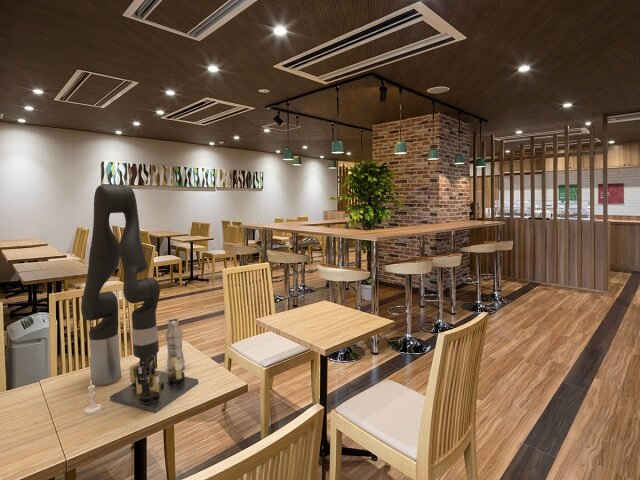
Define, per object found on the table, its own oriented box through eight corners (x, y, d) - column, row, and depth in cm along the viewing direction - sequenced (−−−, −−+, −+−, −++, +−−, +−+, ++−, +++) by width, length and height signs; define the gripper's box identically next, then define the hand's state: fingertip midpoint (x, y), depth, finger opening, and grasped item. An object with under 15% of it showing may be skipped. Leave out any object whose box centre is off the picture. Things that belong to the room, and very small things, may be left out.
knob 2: (135, 402, 119) (133, 380, 118) (141, 393, 125) (139, 372, 124) (158, 400, 120) (157, 378, 119) (163, 392, 126) (162, 371, 125)
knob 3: (165, 379, 135) (164, 359, 134) (181, 374, 138) (180, 355, 137) (171, 386, 129) (170, 366, 128) (187, 381, 132) (186, 361, 132)
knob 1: (138, 389, 128) (137, 368, 127) (126, 386, 130) (125, 366, 129) (155, 379, 134) (153, 360, 133) (143, 377, 136) (142, 357, 135)
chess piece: (83, 416, 115) (80, 385, 114) (85, 408, 119) (82, 379, 118) (101, 411, 117) (99, 382, 116) (102, 404, 122) (100, 375, 121)
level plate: (109, 400, 124) (108, 392, 124) (155, 374, 143) (155, 367, 142) (155, 412, 116) (155, 404, 116) (198, 383, 135) (198, 376, 135)
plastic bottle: (179, 373, 143) (176, 323, 140) (163, 372, 144) (160, 322, 142) (188, 366, 149) (185, 318, 147) (173, 364, 150) (170, 317, 148)
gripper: (140, 332, 127) (144, 379, 129) (124, 349, 112) (128, 401, 114) (163, 331, 128) (166, 377, 130) (150, 347, 114) (154, 399, 115)
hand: (148, 388), depth 122 cm, fingers open, 5 cm apart
